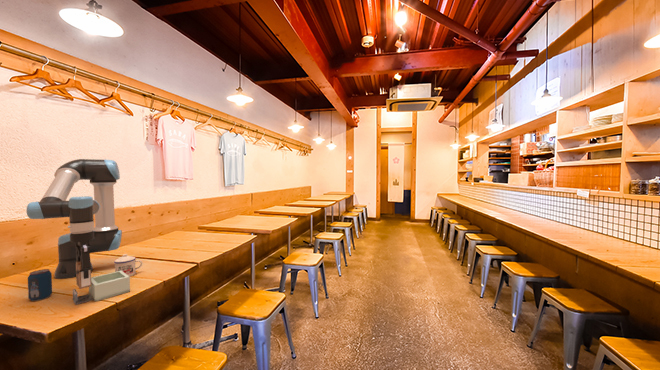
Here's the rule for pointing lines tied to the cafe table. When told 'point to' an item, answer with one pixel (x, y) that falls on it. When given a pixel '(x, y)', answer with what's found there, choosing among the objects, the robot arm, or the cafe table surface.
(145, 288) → the cafe table surface
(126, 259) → the teacup with lid
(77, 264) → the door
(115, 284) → the pale green open box
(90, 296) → the hinge rail
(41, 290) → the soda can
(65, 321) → the cafe table surface
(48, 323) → the cafe table surface
